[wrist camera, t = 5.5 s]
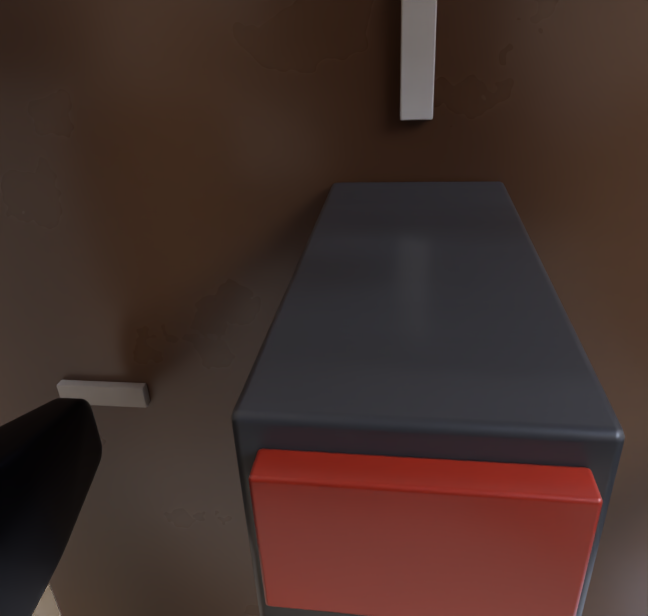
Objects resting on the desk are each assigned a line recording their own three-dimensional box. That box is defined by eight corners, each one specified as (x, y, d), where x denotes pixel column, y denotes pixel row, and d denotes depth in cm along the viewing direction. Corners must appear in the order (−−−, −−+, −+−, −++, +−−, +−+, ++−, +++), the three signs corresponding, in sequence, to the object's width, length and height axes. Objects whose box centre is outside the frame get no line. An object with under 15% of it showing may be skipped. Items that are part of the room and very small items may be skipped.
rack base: (125, 513, 15) (59, 631, 12) (-30, -38, 9) (-219, -55, 7) (729, 557, 13) (816, 710, 10) (988, -111, 7) (1339, -178, 5)
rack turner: (465, 566, 10) (505, 991, 6) (346, 557, 10) (296, 952, 6) (504, 180, 7) (649, 471, 3) (331, 180, 7) (213, 445, 3)
